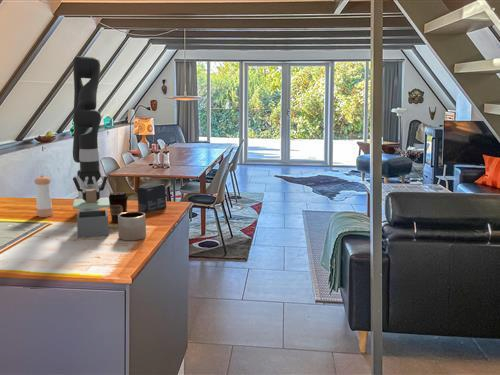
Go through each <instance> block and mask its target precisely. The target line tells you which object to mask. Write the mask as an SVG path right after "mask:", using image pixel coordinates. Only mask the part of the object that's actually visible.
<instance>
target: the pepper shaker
mask: <svg viewBox="0 0 500 375" xmlns="http://www.w3.org/2000/svg"><path fill="white" fill-rule="evenodd" d="M33 183H34V184H35V185H36V199H35V200H36V208H35V209H36V212H35V213H36V217H37V216H39V217H38V218H48V216H49V217H51V216H54V208H53V205H52V203H53V202H52V201H53V200H52V197H51V193H50V192H51V191H50V183H51V178H50V177H49V176H45V175H43V174H41V175H40V176H37V177H35V178H34V182H33Z"/></svg>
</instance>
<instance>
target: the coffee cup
mask: <svg viewBox="0 0 500 375" xmlns="http://www.w3.org/2000/svg"><path fill="white" fill-rule="evenodd" d="M108 197H109V204H110V207H109V213H110V216H111V222H112V223H118V215H119V214H121V213H124V212H128V210H127V209H128V198H129V196H128V195H127V192H125V191H116V192H110V194H109V195H108Z"/></svg>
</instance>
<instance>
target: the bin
mask: <svg viewBox="0 0 500 375" xmlns="http://www.w3.org/2000/svg"><path fill="white" fill-rule="evenodd" d="M108 213H109V212H108V209H99V210H93V211H79V210H78V211H77V213H76V214H77V215H76V230H77V238H78V239H79V238H91V237H92V238H93V237H94V238H95V237H105V236H109V231H110V230H109V214H108Z"/></svg>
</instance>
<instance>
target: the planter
mask: <svg viewBox="0 0 500 375" xmlns="http://www.w3.org/2000/svg"><path fill="white" fill-rule="evenodd" d="M146 222H147V221H146V212H144V211H127V212H124V213H121V214H119V215H118V222H117V230H118V231H117V232H118V238H119V239H120V240H121V241H125V242H136V241H139V240H143V239H145V238H146V237H147V226H146V225H147V224H146Z"/></svg>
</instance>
